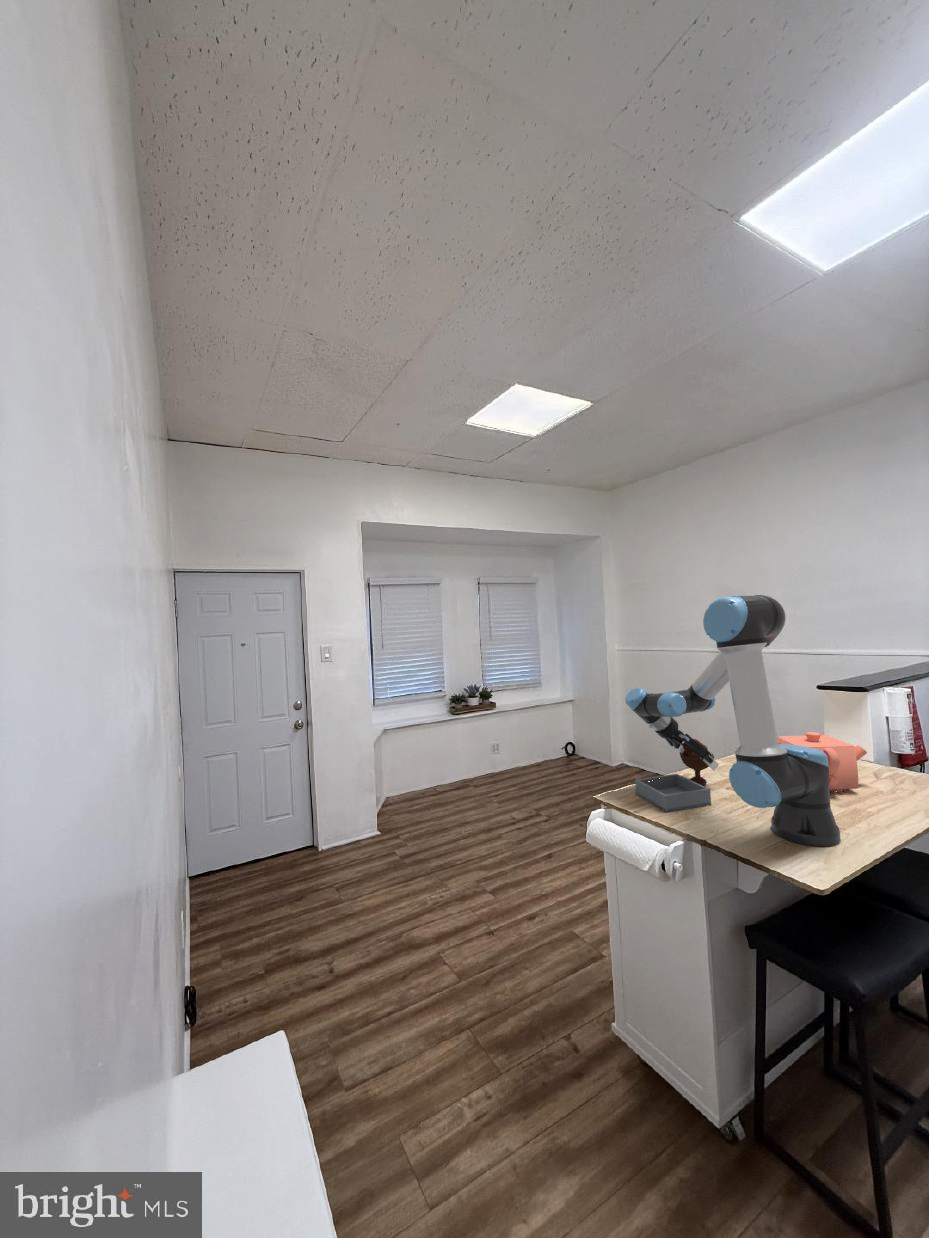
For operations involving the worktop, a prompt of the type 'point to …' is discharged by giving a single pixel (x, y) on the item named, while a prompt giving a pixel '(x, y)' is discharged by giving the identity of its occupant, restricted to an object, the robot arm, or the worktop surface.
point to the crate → (673, 792)
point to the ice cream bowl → (694, 763)
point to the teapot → (832, 757)
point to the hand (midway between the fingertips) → (703, 762)
